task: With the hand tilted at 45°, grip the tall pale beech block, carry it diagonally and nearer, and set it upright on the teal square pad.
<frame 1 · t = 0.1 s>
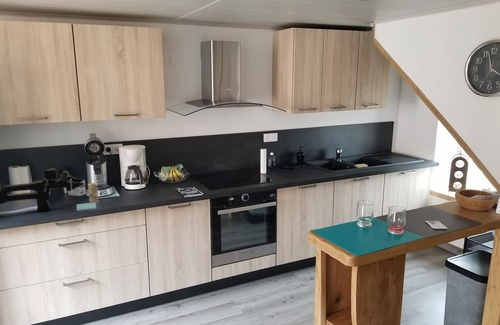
hand: (83, 181, 258), 17 cm above the countertop, tool horizontal, fingers open, 9 cm apart
teal pad: (86, 207, 258), on the countertop
beech block: (94, 201, 269), on the countertop
light bulb box: (77, 194, 287), on the countertop
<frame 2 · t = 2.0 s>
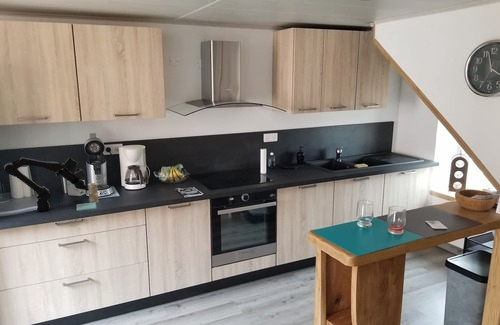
hand: (86, 188, 265), 10 cm above the countertop, tool tilted 45°, fingers open, 9 cm apart
nothing on the countertop moved.
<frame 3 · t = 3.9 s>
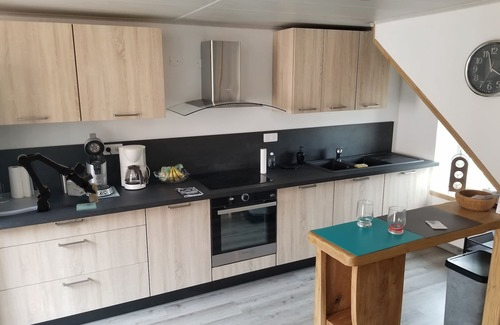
hand: (95, 192, 269), 7 cm above the countertop, tool tilted 45°, fingers closed on beech block, 5 cm apart
beech block: (94, 201, 269), on the countertop, touching gripper
everything else where it was.
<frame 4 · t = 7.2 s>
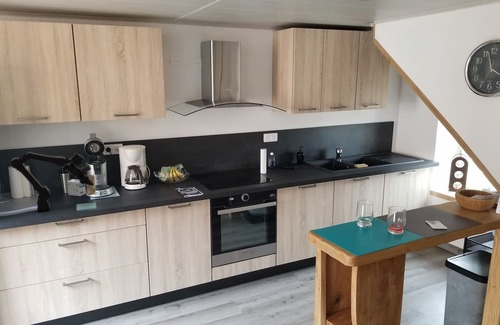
hand: (92, 184, 264), 13 cm above the countertop, tool tilted 45°, fingers closed on beech block, 5 cm apart
beech block: (91, 194, 265), point 7 cm above the countertop, touching gripper
everything else where it was.
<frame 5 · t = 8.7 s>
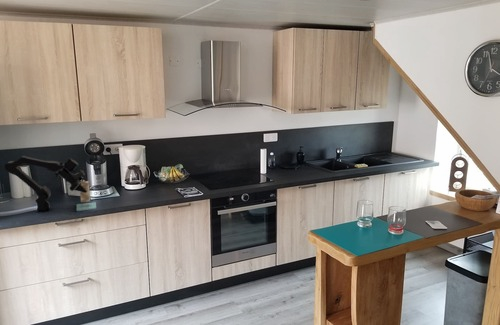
hand: (87, 191, 256), 11 cm above the countertop, tool tilted 45°, fingers closed on beech block, 5 cm apart
beech block: (85, 200, 257), point 4 cm above the countertop, touching gripper
everything else where it was.
when the fingers open (9 cm above the countertop, at t = 10.0 s): beech block drops 1 cm, resting on teal pad.
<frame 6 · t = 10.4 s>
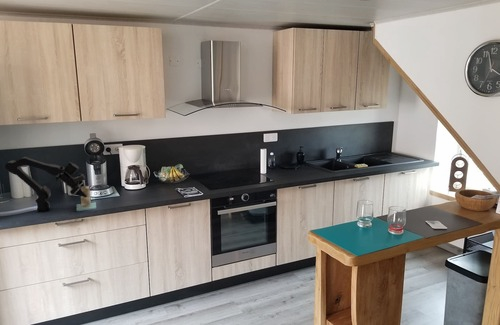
hand: (87, 194, 257), 9 cm above the countertop, tool tilted 45°, fingers open, 9 cm apart
beech block: (86, 205, 258), point 1 cm above the countertop, touching teal pad
everything else where it was.
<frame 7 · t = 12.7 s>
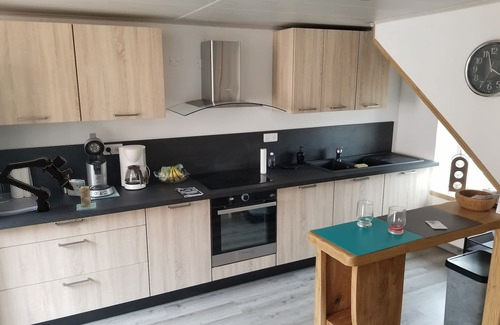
hand: (73, 189, 255), 13 cm above the countertop, tool tilted 40°, fingers open, 9 cm apart
nothing on the countertop moved.
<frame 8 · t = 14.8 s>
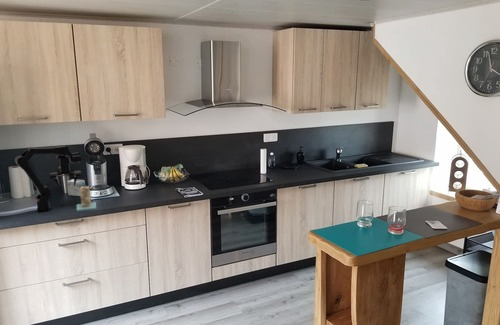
hand: (67, 186, 259), 13 cm above the countertop, tool pointing down, fingers open, 9 cm apart
nothing on the countertop moved.
at the end: beech block inside the target area on the teal pad (0.0 cm from its centre), point 0.8 cm above the teal pad's base; beech block tilted 0°; the gripper is holding nothing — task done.
